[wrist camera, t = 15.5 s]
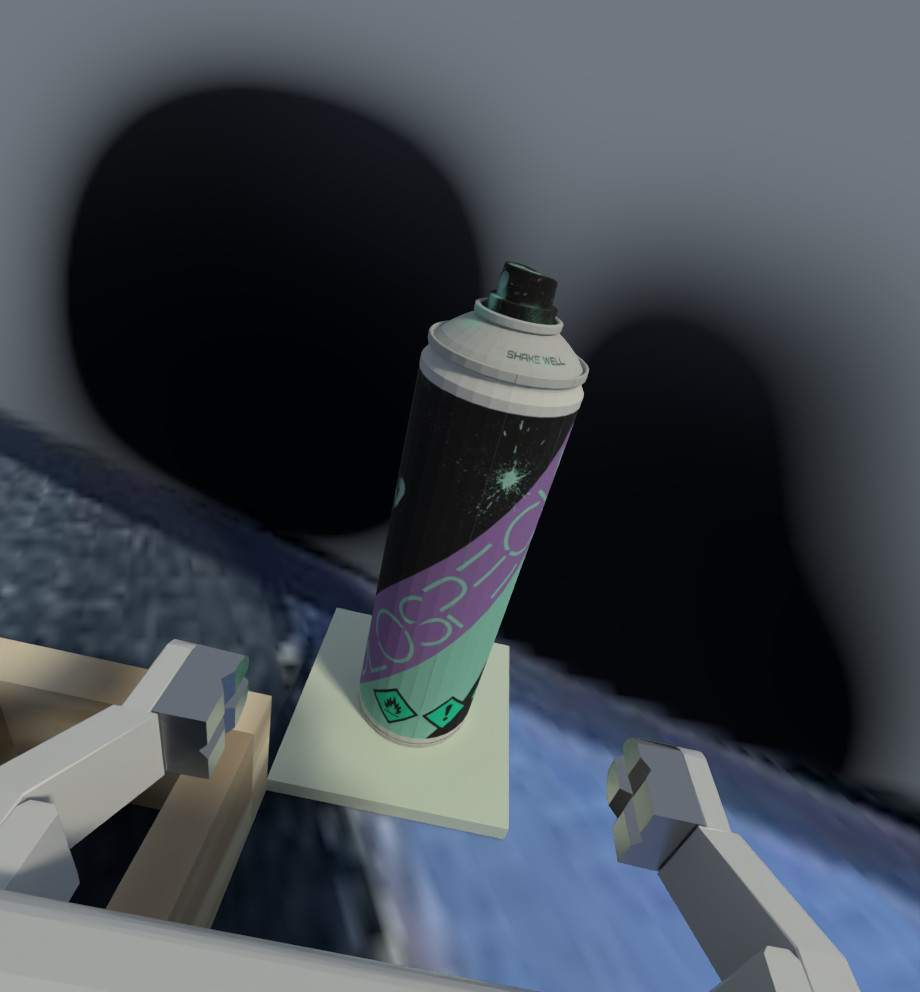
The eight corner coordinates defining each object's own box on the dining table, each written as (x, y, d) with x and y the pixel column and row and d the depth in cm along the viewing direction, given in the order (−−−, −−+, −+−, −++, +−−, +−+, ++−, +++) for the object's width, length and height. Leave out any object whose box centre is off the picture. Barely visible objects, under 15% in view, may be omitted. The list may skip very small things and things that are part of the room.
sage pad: (266, 790, 22) (266, 779, 21) (335, 617, 30) (336, 607, 30) (503, 839, 22) (508, 829, 22) (505, 655, 31) (509, 646, 30)
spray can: (333, 696, 25) (403, 239, 15) (407, 636, 29) (501, 247, 19) (422, 773, 23) (576, 299, 13) (488, 695, 27) (644, 293, 17)
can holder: (-315, 1116, 13) (-490, 1037, 10) (19, 738, 21) (-18, 633, 18) (106, 1188, 13) (67, 1136, 10) (266, 790, 22) (271, 696, 19)
